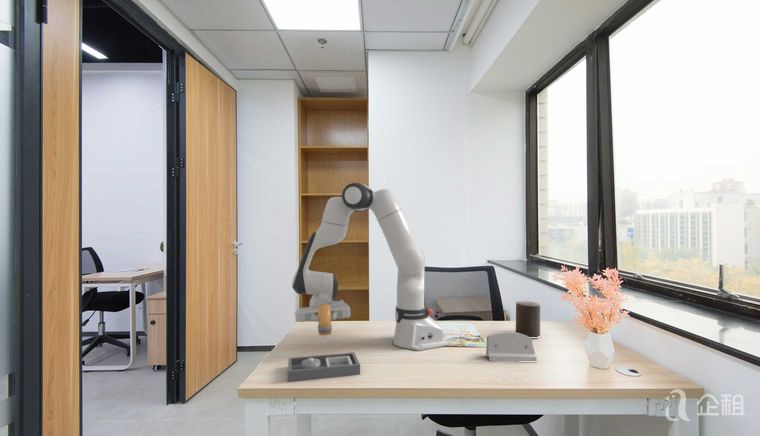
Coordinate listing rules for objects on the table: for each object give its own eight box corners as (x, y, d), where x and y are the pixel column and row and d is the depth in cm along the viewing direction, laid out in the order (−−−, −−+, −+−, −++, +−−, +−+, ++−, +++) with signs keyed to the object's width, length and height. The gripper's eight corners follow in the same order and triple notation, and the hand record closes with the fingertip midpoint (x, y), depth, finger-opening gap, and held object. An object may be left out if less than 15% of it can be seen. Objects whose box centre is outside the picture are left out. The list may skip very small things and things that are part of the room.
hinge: (488, 361, 120) (486, 330, 123) (485, 360, 124) (483, 331, 128) (538, 362, 118) (534, 332, 122) (533, 362, 123) (529, 332, 126)
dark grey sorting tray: (354, 360, 119) (354, 348, 120) (360, 374, 109) (360, 361, 109) (288, 367, 114) (288, 354, 114) (287, 381, 103) (288, 367, 104)
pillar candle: (525, 339, 142) (525, 303, 142) (510, 332, 151) (511, 298, 152) (545, 338, 144) (545, 302, 144) (530, 331, 154) (530, 297, 154)
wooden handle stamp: (330, 330, 127) (330, 303, 127) (332, 334, 122) (331, 306, 122) (317, 332, 126) (317, 304, 126) (318, 336, 121) (318, 307, 121)
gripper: (294, 303, 134) (294, 312, 121) (347, 299, 139) (352, 307, 126) (294, 319, 134) (295, 330, 121) (347, 315, 139) (352, 324, 125)
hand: (324, 318), depth 123 cm, fingers closed on wooden handle stamp, 4 cm apart
